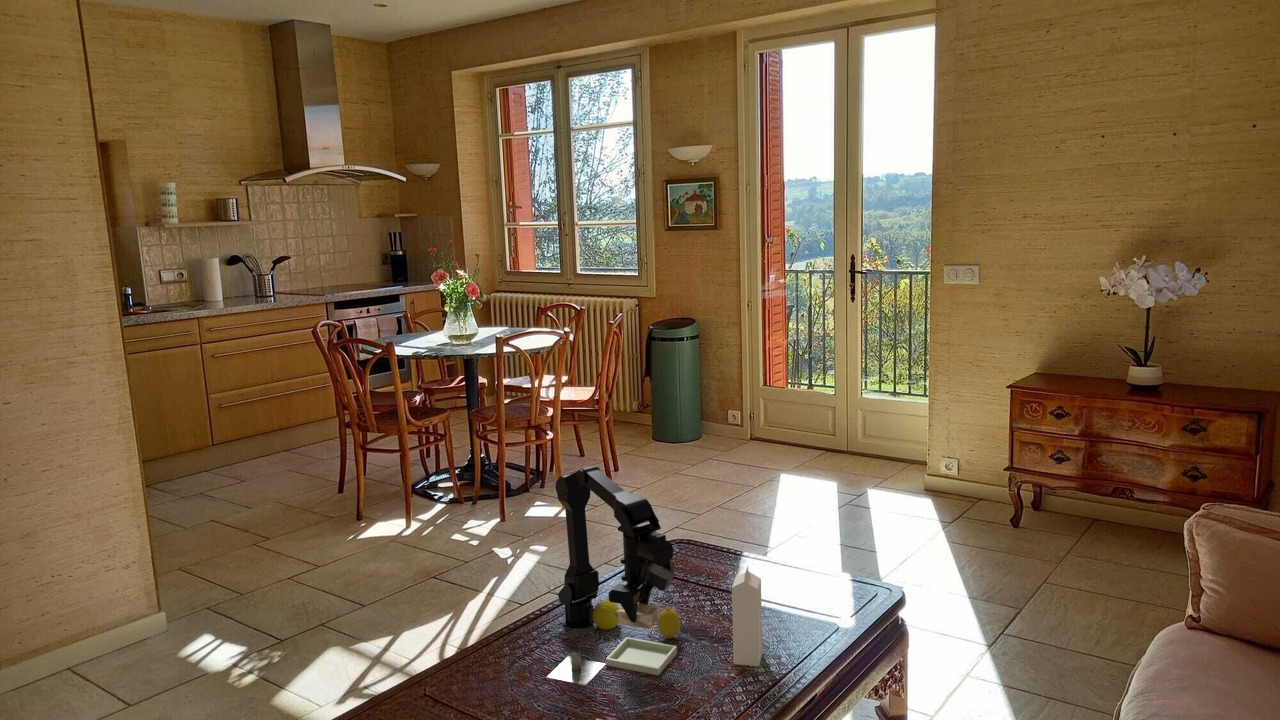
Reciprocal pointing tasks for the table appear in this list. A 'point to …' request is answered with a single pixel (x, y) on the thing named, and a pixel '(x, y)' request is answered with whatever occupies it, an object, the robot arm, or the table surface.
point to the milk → (747, 619)
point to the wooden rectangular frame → (640, 616)
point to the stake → (576, 669)
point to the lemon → (669, 623)
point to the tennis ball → (605, 615)
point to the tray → (642, 656)
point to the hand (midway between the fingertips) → (638, 616)
